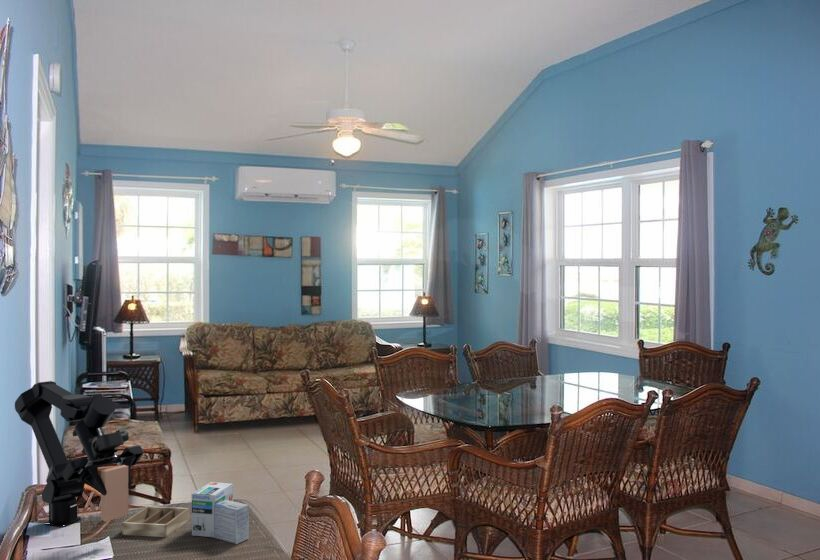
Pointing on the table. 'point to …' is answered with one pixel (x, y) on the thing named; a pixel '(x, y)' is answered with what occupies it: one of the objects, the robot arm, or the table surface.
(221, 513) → the medicine box
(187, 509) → the slot box
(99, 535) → the table surface
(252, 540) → the table surface
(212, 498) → the light bulb box
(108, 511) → the rectangular block
